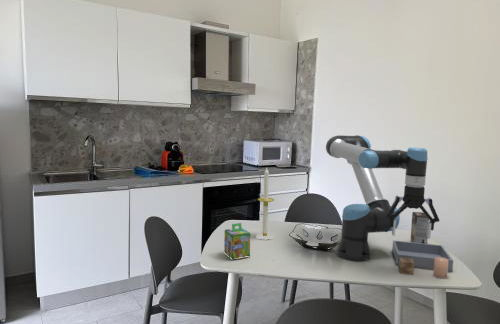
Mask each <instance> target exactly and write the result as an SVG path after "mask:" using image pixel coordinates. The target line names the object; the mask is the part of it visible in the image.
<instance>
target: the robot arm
mask: <svg viewBox="0 0 500 324" xmlns="http://www.w3.org/2000/svg"><path fill="white" fill-rule="evenodd" d="M371 145H372V144H371V142H370V140H369V139H368V138H367V137H366V136H364V135H357V134H355V135H342V134H339V135H335V136H331V137H330V138H329V139H328V140H327V142H326V145H325V151H326V153H327V154H328V155H329V156H330V157H333V158H334V159H335V158H336V159H341V158H342V159H345V160H346V161H347V164H349V165H351V167H352V169H353V171H354V176H355V178H356V181H357V183H358V185H359V186H358V187H359V188H360V191H361V193H362V196H363V200H364V202H365V203H351V204H348V205H346V206H345V207H343V211H342V215H341V216H342V217H341V218H342V222H341V238H340V240H339V243H338V246H337V249H336V255H337V256H338V257H340V258H342V259H344V260H347V261H353V262H364V261H368V260H370V259H371V257H372V254H371V253H372V252H371V248H370V245H369V240H368V238H369V233H371V234H372V233H388V232H391V235H392V236H394V237H395V236H396V229H397V228H398V226H399V224H400V221H401V220H400V219H401V218H400V217H401V216H400V215H401V213H403V212H404V211H405V210H407V209H408V208H409V209H417V210H418V209H420V210H421V212H423V213H424V214H425V215H426V216H427V217H428V219H429V221H428V225H427V238H428V240H430V239H431V236H432V235H431V232H432V231H434V230H435V229H434V227H435V223H439V222H440V218H439V216H438V214H437V213H438V212H436V209H435V207H434V205H433V203H434V202H433V199H432V198H431V197H428V198H425V192H426V191H425V185H426V178H427V177H426V176H427V168H428V167H427V166H428V164H427V163H428V150H427V149H426V148H423V147H408V148H407V151H405V150H401V149H391V150H378V149H377V150H376V149H372V148H371V147H372V146H371ZM373 169H402V170H405V175H404V176H405V179H404V184H405V185H404V188H403V189H404V192H403V195H402V196H399V195H396V196H395V198H394V201H393V203H392V204H391V205H390V201H389V200H388V199H387V198H384V195H383V193H382V190H381V188H380V186H379V183H378V180H377V179H376V176H375V174H374V171H373ZM402 201H403V204H401V205H400V206H399V207H398V205H399V204H400V203H401V202H402ZM425 203H426V204H427V205H428V207H429V210H430V212H431V214H432V216H433V217H432V216H431V215H430V214H429V212H428V211H427V209H426V208H425V207H424V206H423V205H424V204H425ZM397 207H398V208H397Z"/></svg>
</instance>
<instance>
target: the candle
mask: <svg viewBox="0 0 500 324" xmlns="http://www.w3.org/2000/svg"><path fill="white" fill-rule="evenodd" d="M269 174H270V172H269V170H268V167H266V168H265V170H264V174H263V175H264V177H263V179H264V181H263V184H264V185H263V188H264V189H263V197H259V198H257V201H259V202H262V203H263V206H262V234H263V236H267V234H268V223H269V222H268V219H269V218H268V217H269V203H271V202H274V201H275V199H274V198H272V197H269Z"/></svg>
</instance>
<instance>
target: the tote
mask: <svg viewBox="0 0 500 324" xmlns="http://www.w3.org/2000/svg"><path fill="white" fill-rule="evenodd" d="M391 250H392V251H391V252H392V254H393V257H394V261H395V264H396V266H398V267H399V259H400V258H409V259H413V262H414V269H415V268H416V269H422V270H431V271H434V260H435V257H443V258H446V259H448V260H449V261H448V272H449V273H453V267H454V259H453V258H452V257H451V255H450V254H449V253H448V251H447V250H446V248H445V247H444V246H443V245H440V244H432V243H427V244H423V243H413V242H411V241H401V240H392V249H391ZM448 272H447V273H448Z"/></svg>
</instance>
